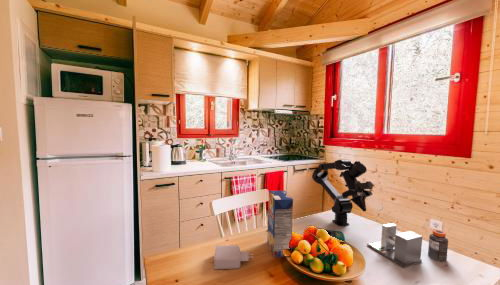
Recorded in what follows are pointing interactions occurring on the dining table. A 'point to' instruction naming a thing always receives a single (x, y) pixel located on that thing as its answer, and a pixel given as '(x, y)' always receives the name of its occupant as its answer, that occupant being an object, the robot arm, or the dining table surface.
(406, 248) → the base
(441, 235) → the pill bottle
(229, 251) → the charger
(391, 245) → the white upright block
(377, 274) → the dining table surface
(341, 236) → the digital multimeter
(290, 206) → the juice carton
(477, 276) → the dining table surface
